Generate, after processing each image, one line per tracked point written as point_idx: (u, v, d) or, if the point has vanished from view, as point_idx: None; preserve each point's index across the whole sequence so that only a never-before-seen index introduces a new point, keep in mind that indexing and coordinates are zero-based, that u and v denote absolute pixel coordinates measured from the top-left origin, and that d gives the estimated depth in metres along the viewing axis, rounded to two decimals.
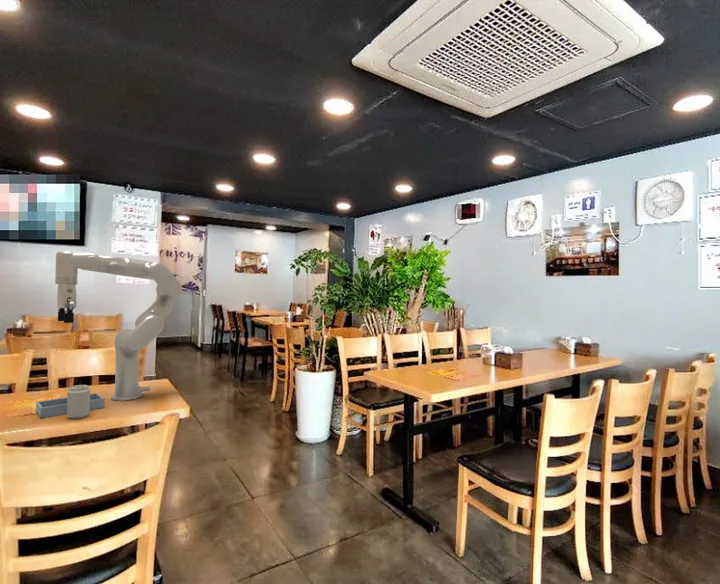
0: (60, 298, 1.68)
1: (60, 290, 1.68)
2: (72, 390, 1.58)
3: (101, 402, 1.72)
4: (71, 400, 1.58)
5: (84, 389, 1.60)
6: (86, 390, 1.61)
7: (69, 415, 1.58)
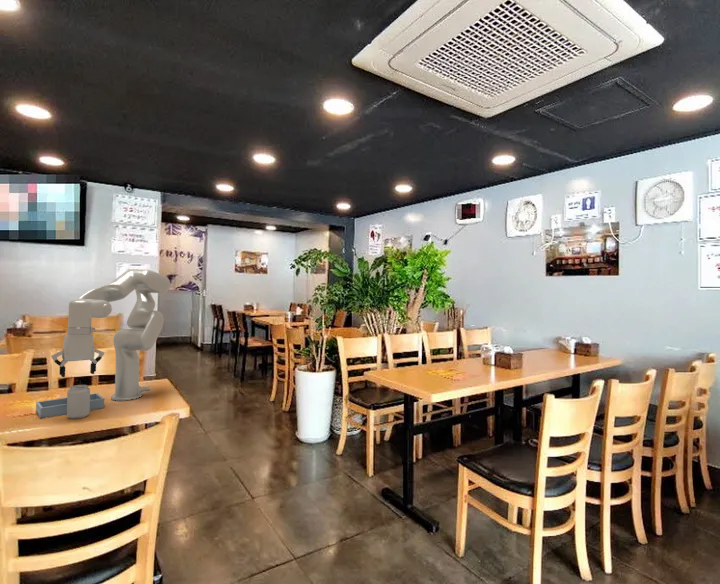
0: (86, 350, 1.60)
1: (86, 341, 1.60)
2: (72, 390, 1.58)
3: (101, 402, 1.72)
4: (71, 400, 1.58)
5: (84, 389, 1.60)
6: (86, 390, 1.61)
7: (69, 415, 1.58)
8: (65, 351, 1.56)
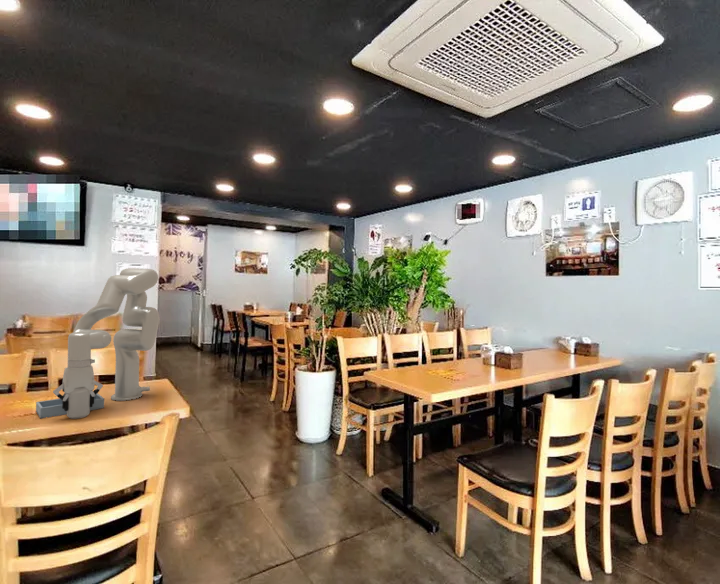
0: (86, 382, 1.61)
1: (86, 374, 1.61)
2: None
3: (101, 402, 1.72)
4: (71, 400, 1.58)
5: (84, 389, 1.60)
6: (86, 390, 1.61)
7: (69, 415, 1.58)
8: (65, 384, 1.56)
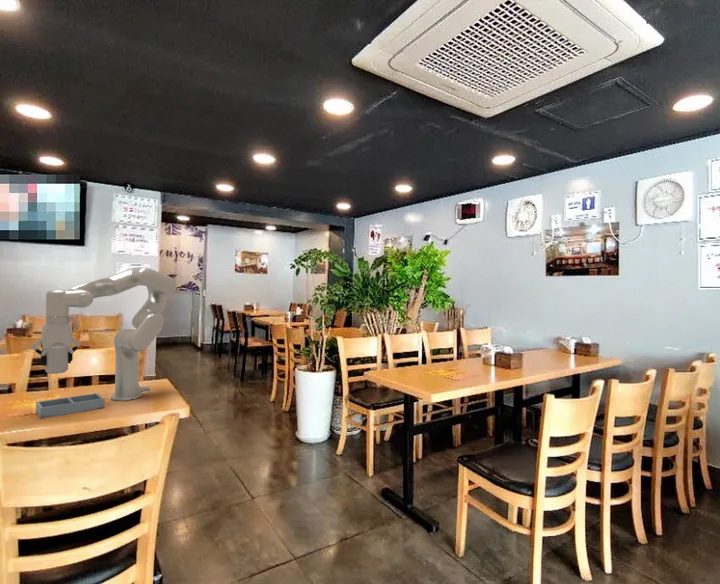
0: (64, 338, 1.65)
1: (64, 330, 1.65)
2: None
3: (101, 402, 1.72)
4: (49, 355, 1.61)
5: (62, 345, 1.64)
6: (64, 346, 1.64)
7: (47, 370, 1.61)
8: (43, 339, 1.60)
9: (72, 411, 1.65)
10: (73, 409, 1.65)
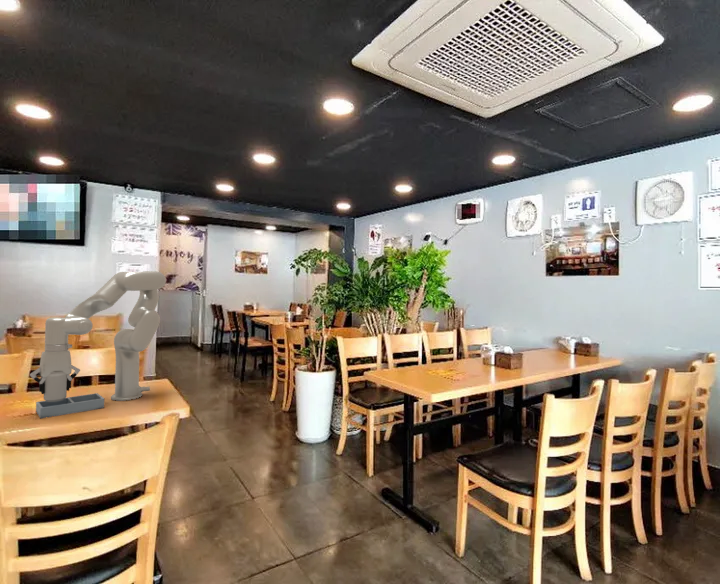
0: (63, 366, 1.65)
1: (63, 358, 1.65)
2: None
3: (101, 402, 1.72)
4: (47, 383, 1.61)
5: (61, 373, 1.64)
6: (63, 374, 1.64)
7: (45, 398, 1.62)
8: (42, 368, 1.60)
9: (72, 411, 1.65)
10: (73, 409, 1.65)
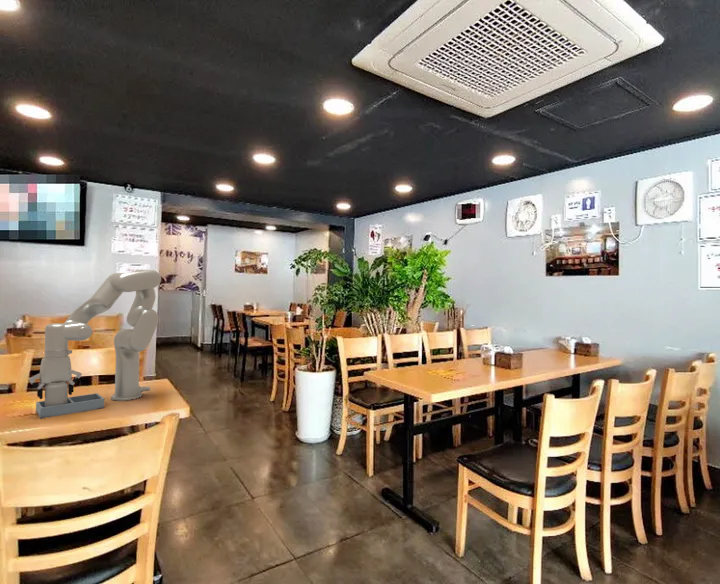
0: (63, 372, 1.65)
1: (63, 364, 1.65)
2: (50, 384, 1.62)
3: (101, 402, 1.72)
4: (48, 394, 1.61)
5: (62, 384, 1.64)
6: (64, 385, 1.65)
7: None
8: (42, 374, 1.60)
9: (72, 411, 1.65)
10: (73, 409, 1.65)
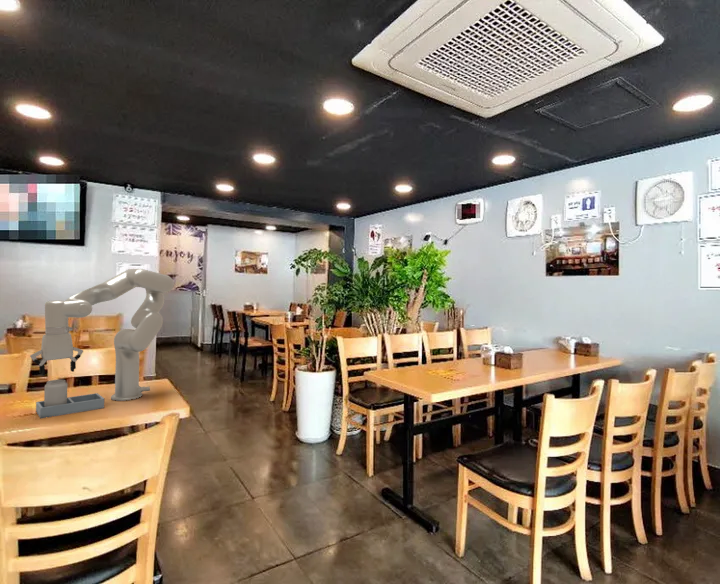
0: (64, 349, 1.65)
1: (64, 340, 1.65)
2: (49, 384, 1.62)
3: (101, 402, 1.72)
4: (48, 394, 1.62)
5: (61, 383, 1.64)
6: (63, 384, 1.65)
7: None
8: (43, 351, 1.61)
9: (72, 411, 1.65)
10: (73, 409, 1.65)
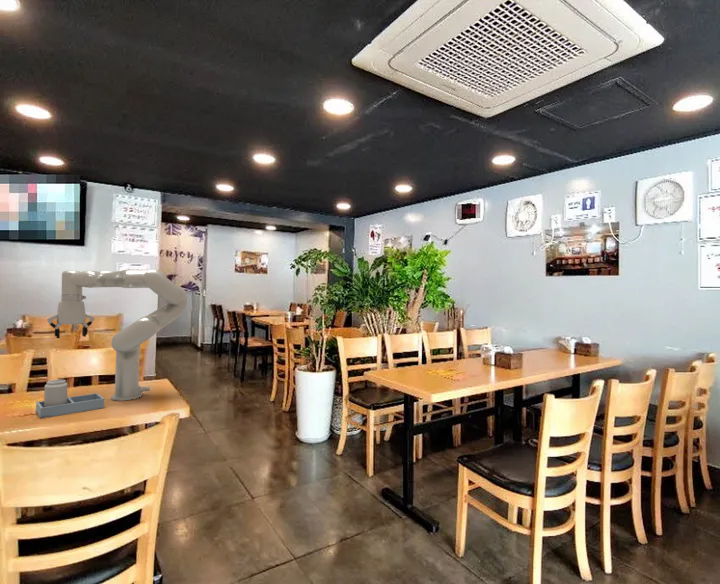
0: (78, 315, 1.81)
1: (78, 307, 1.81)
2: (49, 384, 1.62)
3: (101, 402, 1.72)
4: (48, 394, 1.62)
5: (61, 383, 1.64)
6: (63, 384, 1.65)
7: None
8: (59, 315, 1.77)
9: (72, 411, 1.65)
10: (73, 409, 1.65)
